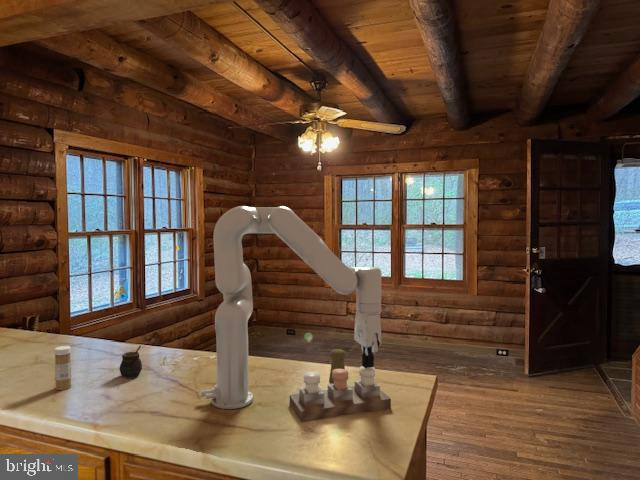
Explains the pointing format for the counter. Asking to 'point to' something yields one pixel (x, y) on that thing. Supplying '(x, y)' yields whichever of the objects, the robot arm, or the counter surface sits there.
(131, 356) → the mate gourd
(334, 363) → the cork
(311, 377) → the button near
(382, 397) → the button board
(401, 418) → the counter surface
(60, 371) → the sprinkles bottle
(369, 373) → the button far
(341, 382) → the button middle
